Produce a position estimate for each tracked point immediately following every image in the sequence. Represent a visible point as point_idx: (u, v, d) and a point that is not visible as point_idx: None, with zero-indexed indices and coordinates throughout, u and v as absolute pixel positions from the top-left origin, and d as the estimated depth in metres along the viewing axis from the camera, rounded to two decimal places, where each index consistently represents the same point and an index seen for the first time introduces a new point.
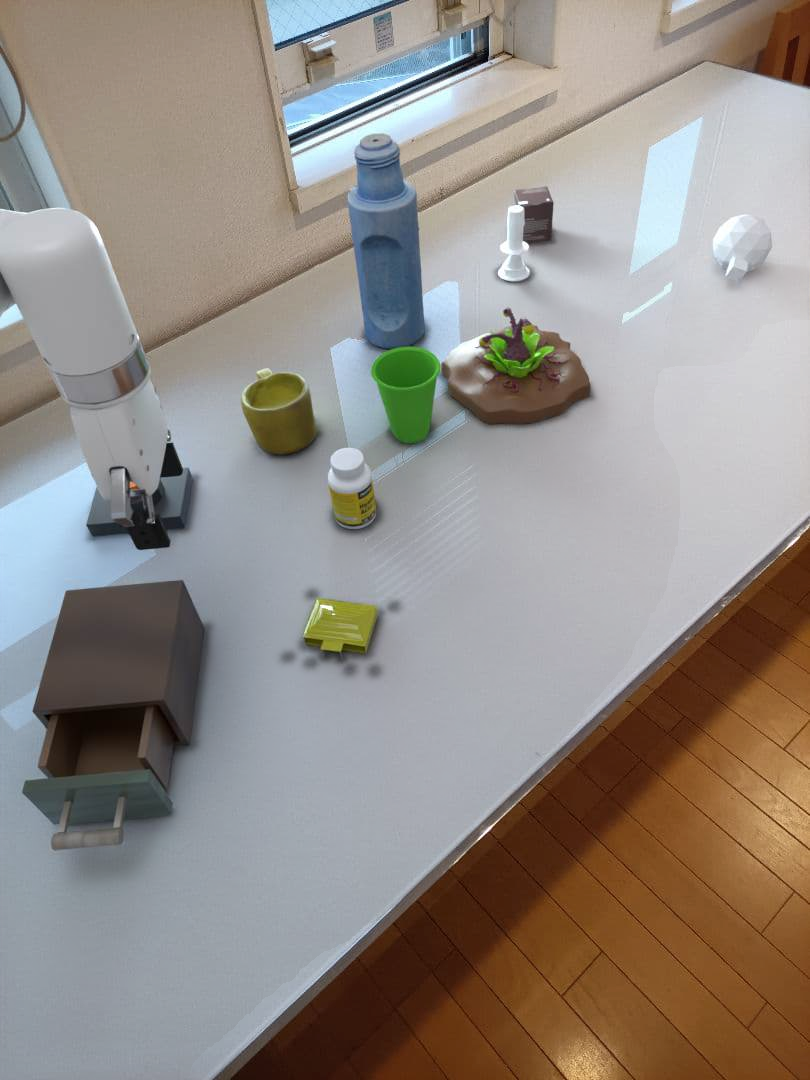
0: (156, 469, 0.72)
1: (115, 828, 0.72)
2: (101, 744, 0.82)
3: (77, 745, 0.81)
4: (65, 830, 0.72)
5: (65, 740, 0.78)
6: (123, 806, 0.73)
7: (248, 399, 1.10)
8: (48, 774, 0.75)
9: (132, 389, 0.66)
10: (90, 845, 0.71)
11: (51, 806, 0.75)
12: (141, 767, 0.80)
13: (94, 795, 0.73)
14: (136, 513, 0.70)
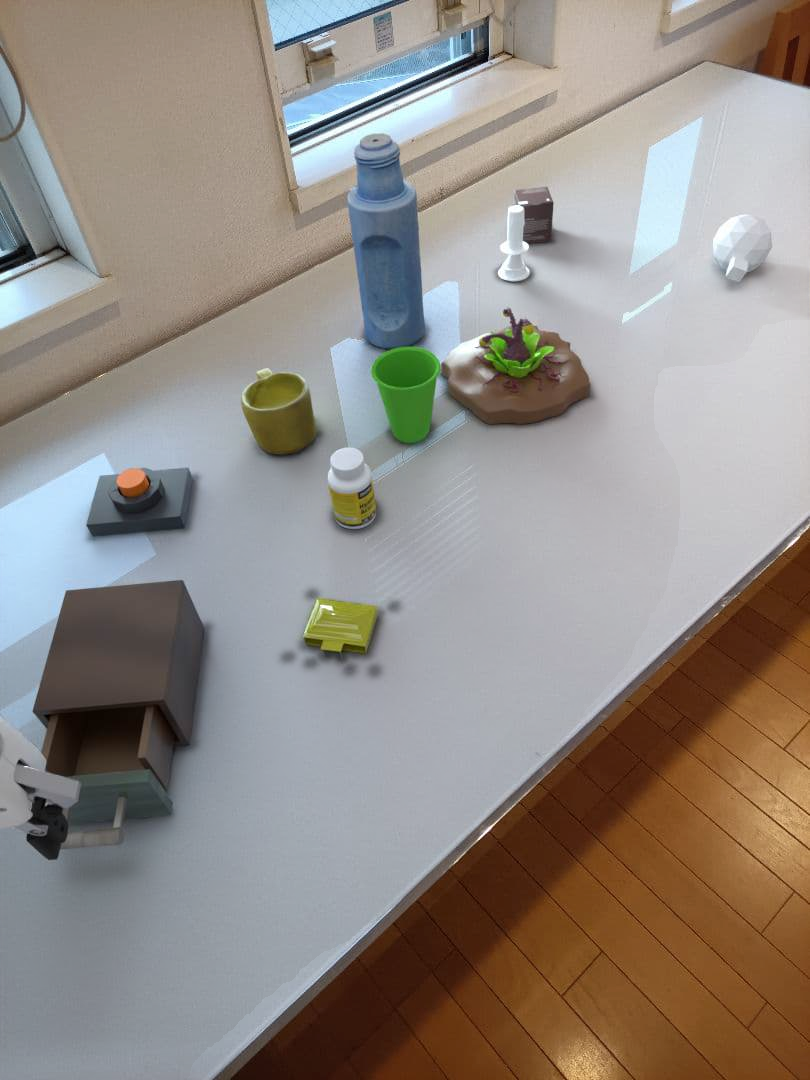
0: None
1: (115, 828, 0.72)
2: (101, 744, 0.82)
3: (77, 745, 0.81)
4: None
5: (65, 740, 0.78)
6: (123, 806, 0.73)
7: (248, 399, 1.10)
8: None
9: None
10: (90, 845, 0.71)
11: None
12: (141, 767, 0.80)
13: (94, 795, 0.73)
14: None
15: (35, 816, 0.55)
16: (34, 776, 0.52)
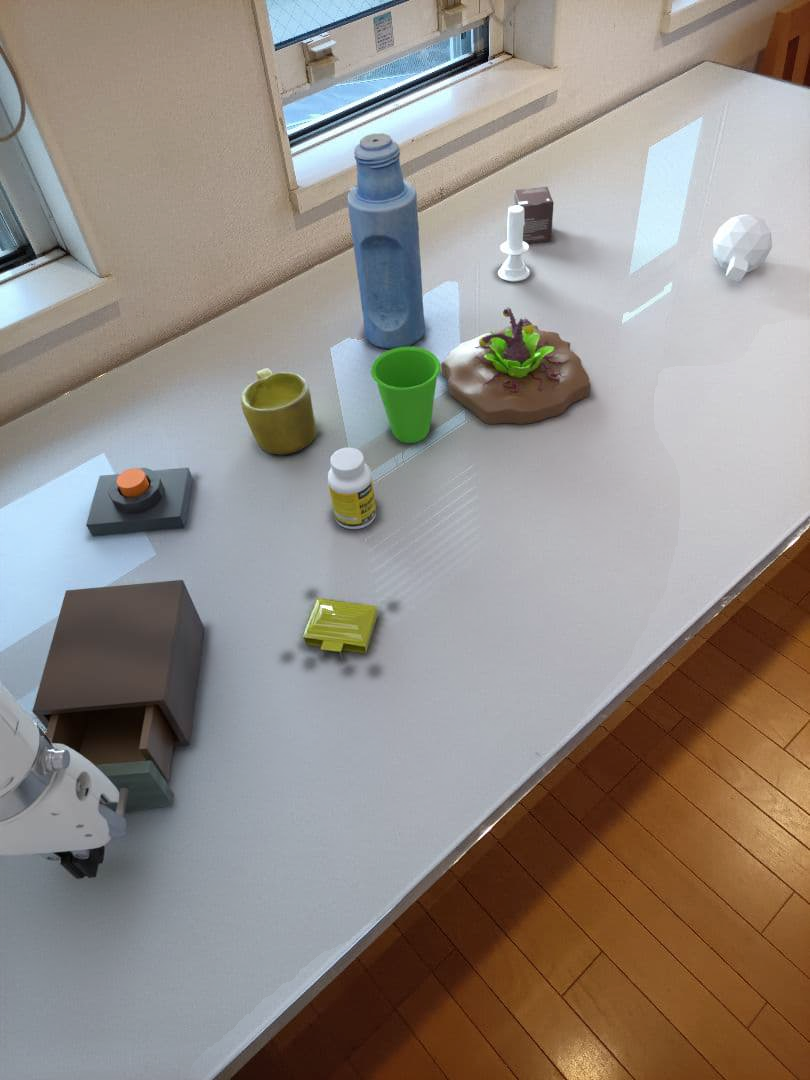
0: (12, 850, 0.64)
1: None
2: (103, 736, 0.82)
3: (79, 737, 0.81)
4: None
5: (67, 732, 0.79)
6: (125, 797, 0.74)
7: (248, 399, 1.10)
8: None
9: None
10: None
11: None
12: (142, 759, 0.80)
13: None
14: None
15: None
16: (105, 813, 0.65)
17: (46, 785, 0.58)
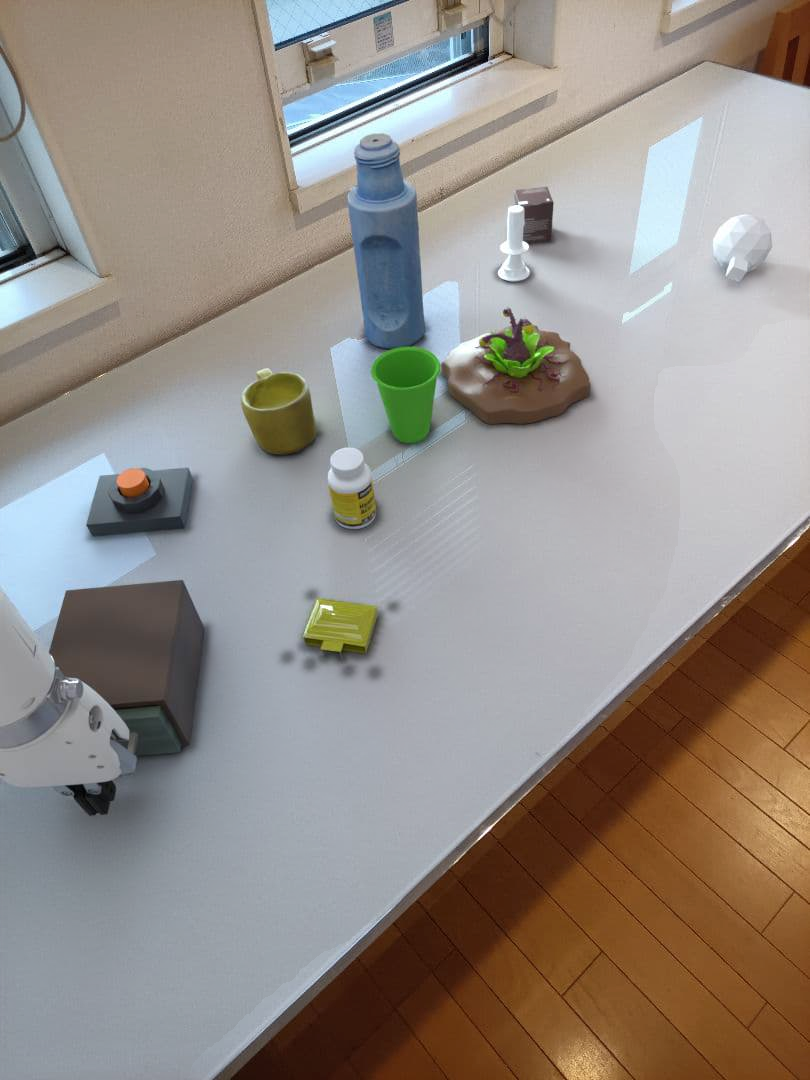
0: (28, 782, 0.68)
1: None
2: None
3: None
4: None
5: None
6: (135, 741, 0.78)
7: (248, 399, 1.10)
8: None
9: None
10: None
11: None
12: None
13: None
14: None
15: None
16: (116, 748, 0.68)
17: (61, 714, 0.61)
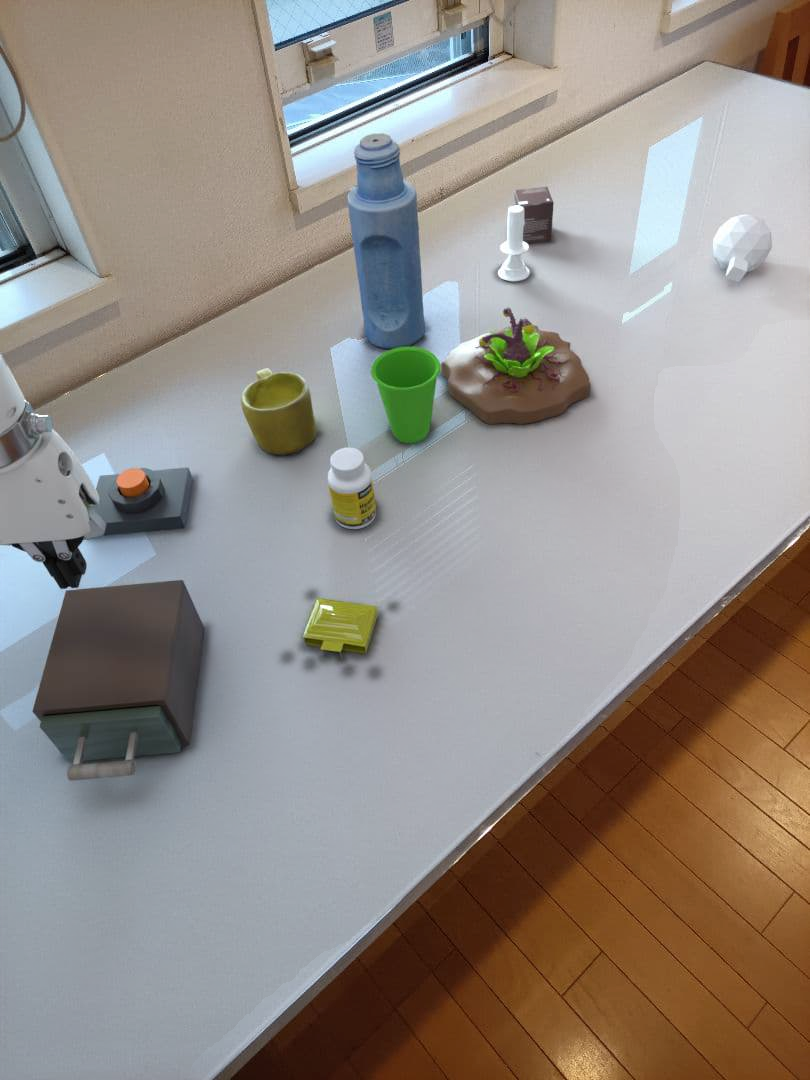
0: (0, 535, 0.70)
1: (127, 760, 0.76)
2: None
3: None
4: (80, 762, 0.77)
5: None
6: (135, 741, 0.78)
7: (248, 399, 1.10)
8: None
9: None
10: (104, 775, 0.75)
11: (67, 742, 0.79)
12: None
13: (107, 730, 0.78)
14: None
15: None
16: (85, 505, 0.71)
17: (31, 447, 0.64)
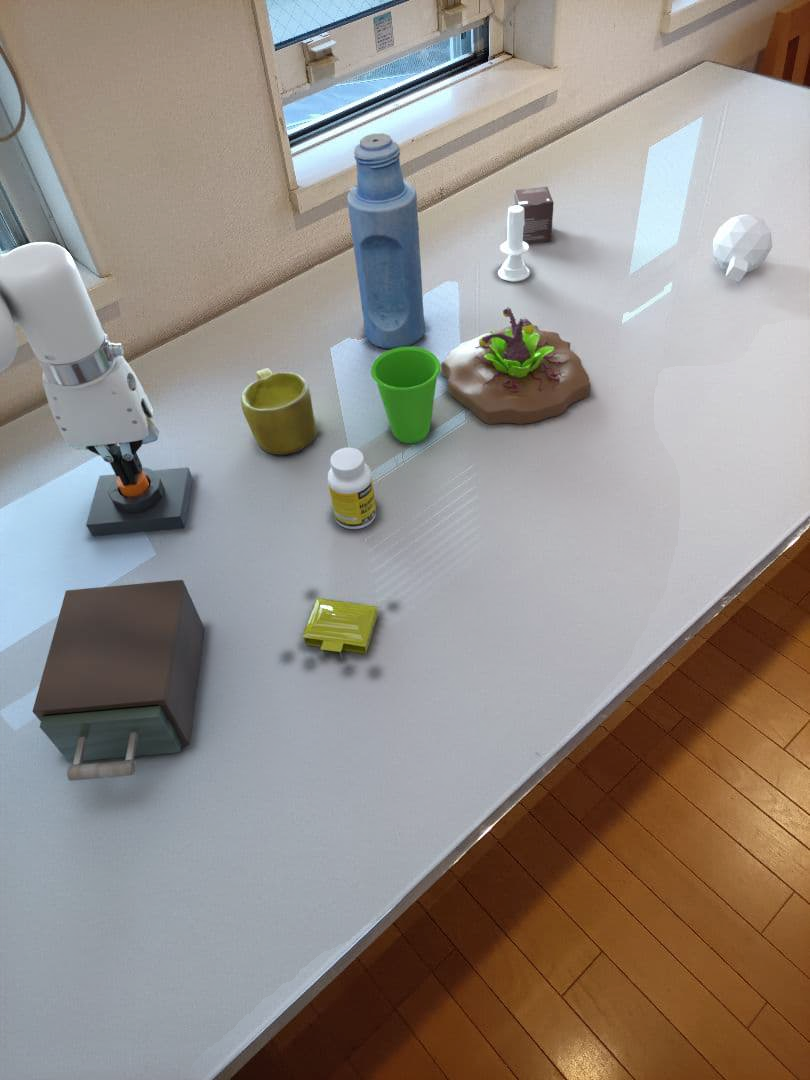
0: (82, 438, 0.95)
1: (127, 760, 0.76)
2: None
3: None
4: (80, 762, 0.77)
5: None
6: (135, 741, 0.78)
7: (248, 399, 1.10)
8: None
9: (52, 382, 0.88)
10: (104, 775, 0.75)
11: (67, 742, 0.79)
12: None
13: (107, 730, 0.78)
14: None
15: None
16: (144, 416, 0.96)
17: (109, 367, 0.89)
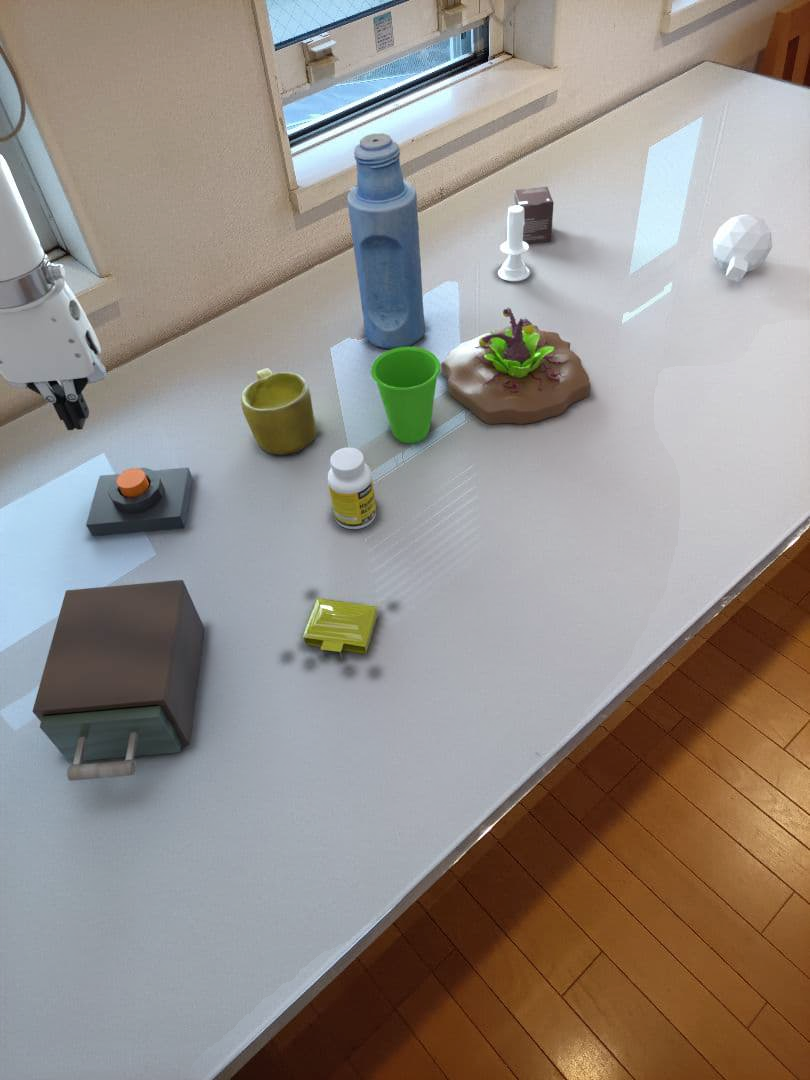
0: (20, 373, 0.87)
1: (127, 760, 0.76)
2: None
3: None
4: (80, 762, 0.77)
5: None
6: (135, 741, 0.78)
7: (248, 399, 1.10)
8: None
9: None
10: (104, 775, 0.75)
11: (67, 742, 0.79)
12: None
13: (107, 730, 0.78)
14: (32, 381, 0.89)
15: None
16: None
17: (48, 290, 0.81)
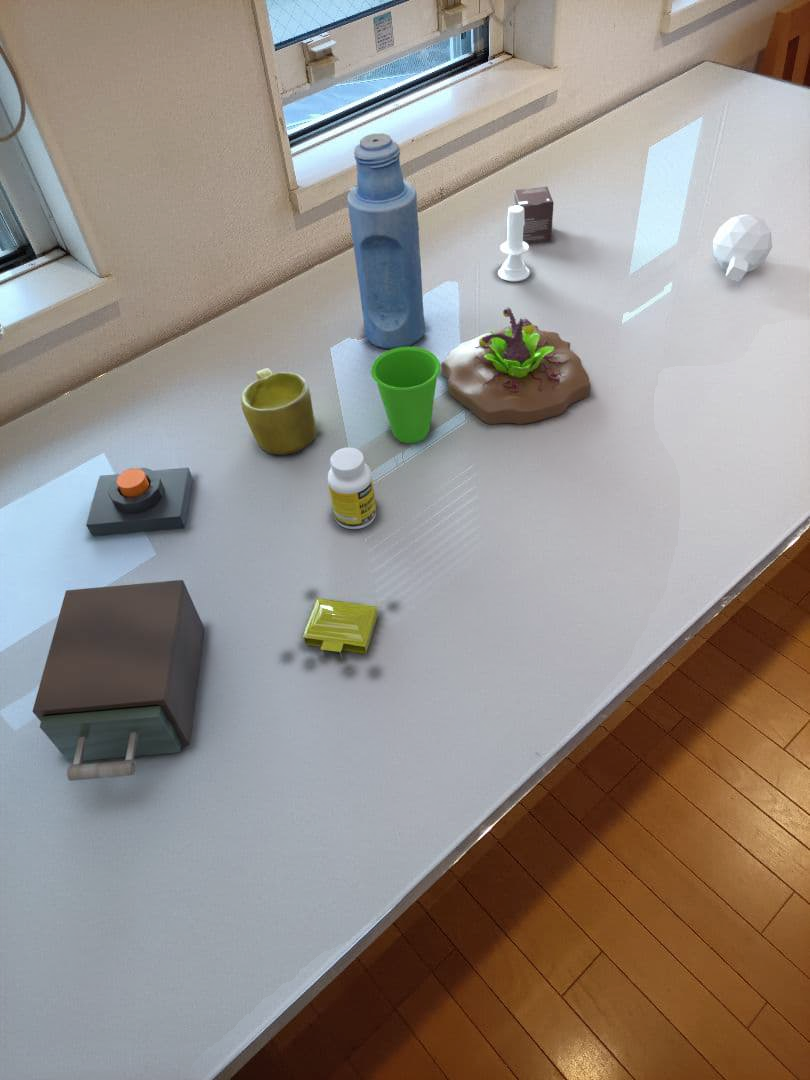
0: None
1: (127, 760, 0.76)
2: None
3: None
4: (80, 762, 0.77)
5: None
6: (135, 741, 0.78)
7: (248, 399, 1.10)
8: None
9: None
10: (104, 775, 0.75)
11: (67, 742, 0.79)
12: None
13: (107, 730, 0.78)
14: None
15: None
16: None
17: None
